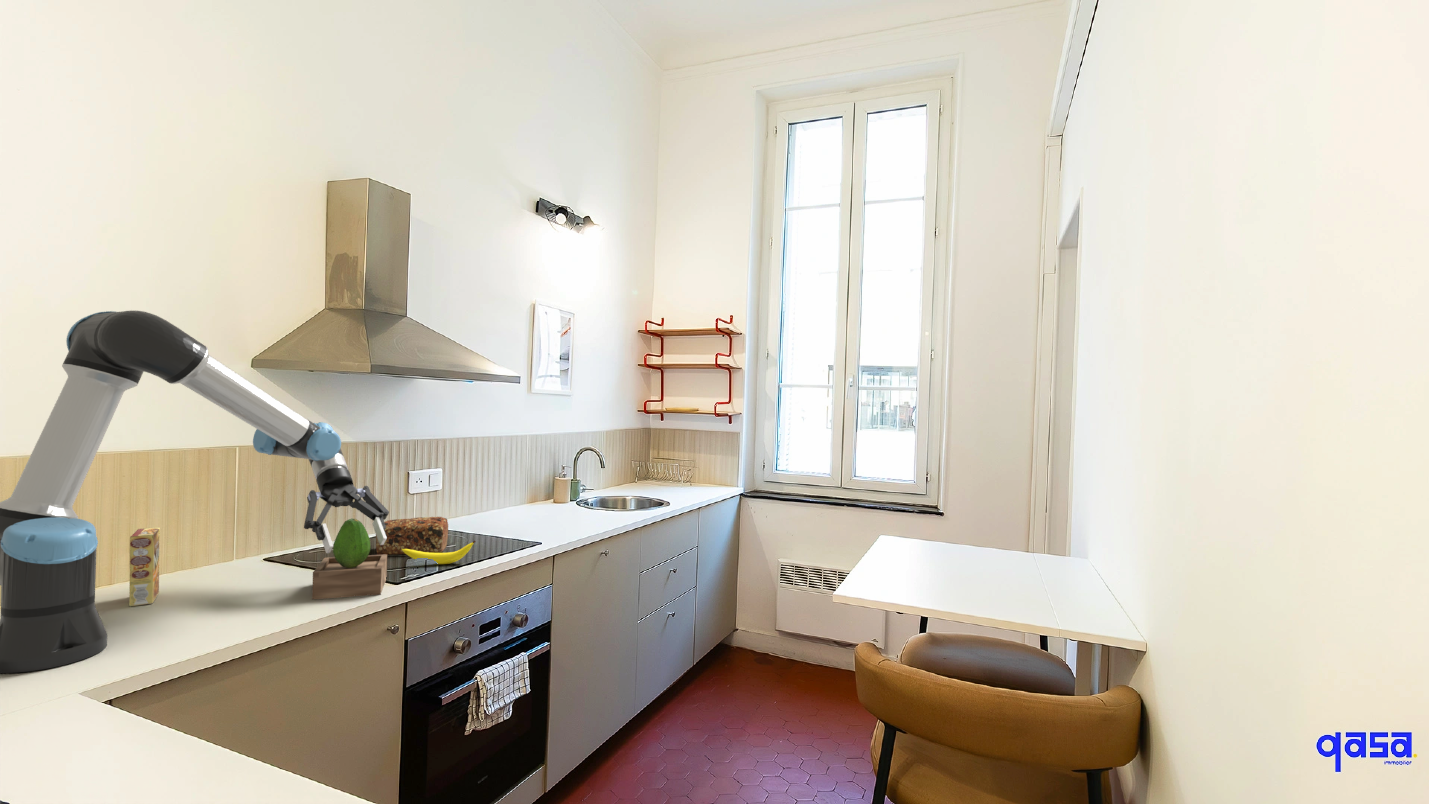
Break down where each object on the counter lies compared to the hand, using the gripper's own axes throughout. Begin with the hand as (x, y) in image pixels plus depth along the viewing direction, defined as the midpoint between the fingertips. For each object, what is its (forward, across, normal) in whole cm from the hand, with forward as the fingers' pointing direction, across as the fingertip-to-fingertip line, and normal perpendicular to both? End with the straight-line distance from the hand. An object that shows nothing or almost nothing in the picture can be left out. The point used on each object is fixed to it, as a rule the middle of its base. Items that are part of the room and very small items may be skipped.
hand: (357, 545), depth 157 cm
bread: (-13, -28, -28) cm, 42 cm away
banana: (+2, -26, -14) cm, 29 cm away
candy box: (-10, +34, -25) cm, 44 cm away
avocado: (+2, 0, -6) cm, 6 cm away
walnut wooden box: (+6, 0, -10) cm, 11 cm away
